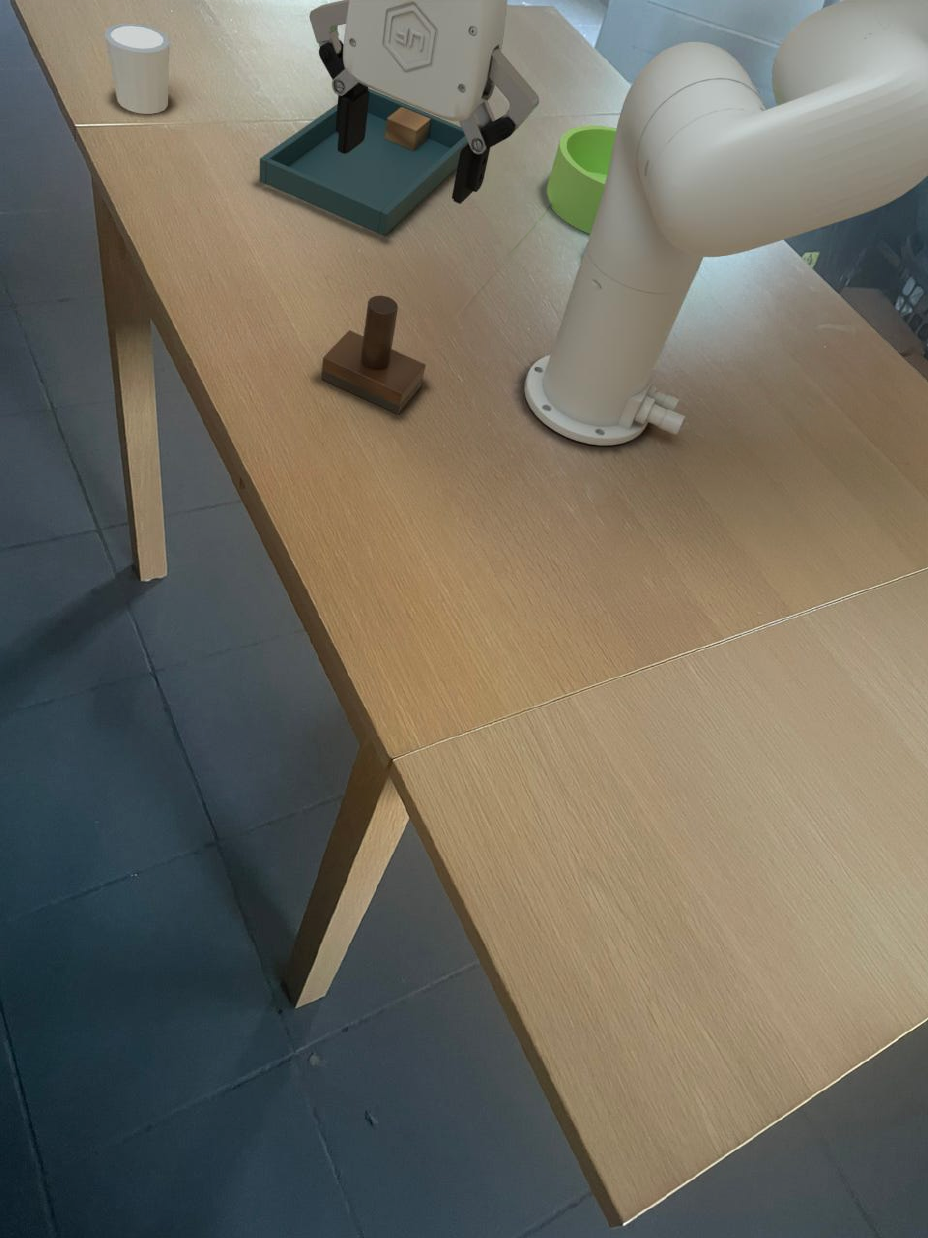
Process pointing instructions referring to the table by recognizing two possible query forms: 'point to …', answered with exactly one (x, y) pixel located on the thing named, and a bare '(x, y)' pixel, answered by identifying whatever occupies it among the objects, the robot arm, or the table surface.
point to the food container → (580, 174)
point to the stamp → (374, 361)
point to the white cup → (139, 66)
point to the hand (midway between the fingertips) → (406, 170)
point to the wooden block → (407, 128)
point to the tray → (364, 166)
